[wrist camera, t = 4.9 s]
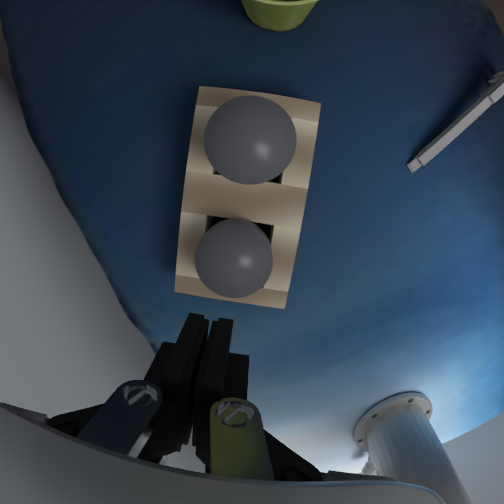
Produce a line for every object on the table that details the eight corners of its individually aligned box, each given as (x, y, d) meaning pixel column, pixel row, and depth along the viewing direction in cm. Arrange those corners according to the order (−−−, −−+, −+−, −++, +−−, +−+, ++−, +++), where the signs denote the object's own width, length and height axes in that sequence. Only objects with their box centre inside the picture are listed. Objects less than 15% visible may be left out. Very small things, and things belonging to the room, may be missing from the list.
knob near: (281, 185, 26) (288, 191, 20) (212, 175, 26) (197, 178, 19) (292, 118, 24) (302, 103, 18) (222, 108, 24) (211, 90, 18)
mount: (281, 291, 31) (284, 308, 27) (184, 276, 31) (174, 291, 27) (312, 111, 26) (321, 103, 22) (207, 96, 26) (199, 86, 22)
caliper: (492, 73, 23) (523, 65, 17) (497, 80, 23) (528, 73, 17) (404, 165, 27) (436, 166, 21) (410, 173, 27) (443, 176, 21)
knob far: (264, 275, 30) (265, 303, 24) (204, 266, 30) (191, 291, 24) (274, 216, 29) (279, 229, 22) (211, 206, 29) (198, 217, 22)
